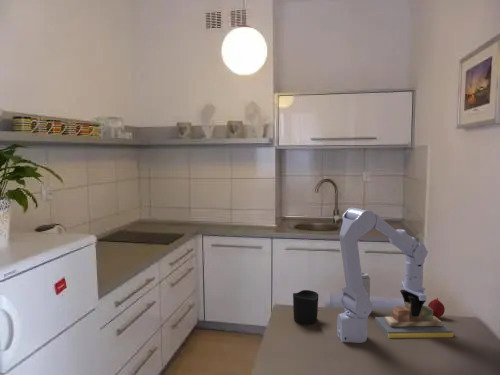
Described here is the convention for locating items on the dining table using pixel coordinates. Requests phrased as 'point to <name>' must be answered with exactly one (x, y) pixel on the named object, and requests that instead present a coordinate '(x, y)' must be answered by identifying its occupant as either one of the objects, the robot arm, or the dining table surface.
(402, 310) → the block
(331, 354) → the dining table surface
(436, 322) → the board
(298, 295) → the pen holder
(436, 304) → the onion
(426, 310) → the block
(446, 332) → the dock
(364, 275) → the energy drink can
